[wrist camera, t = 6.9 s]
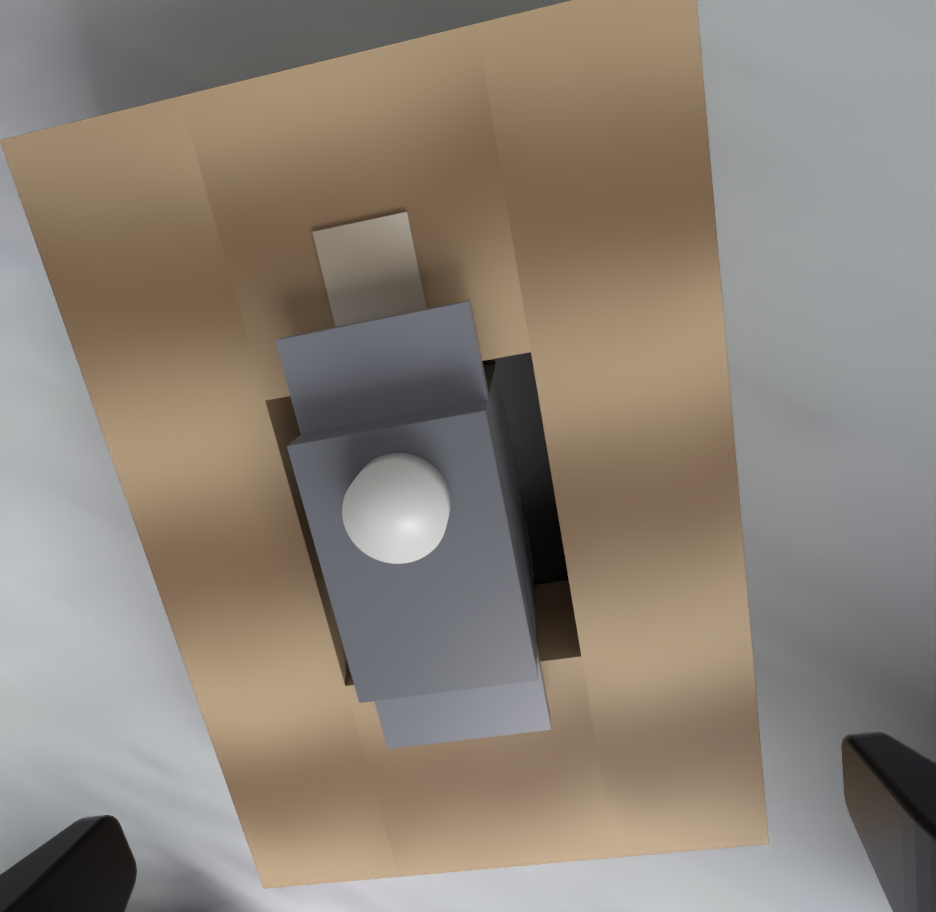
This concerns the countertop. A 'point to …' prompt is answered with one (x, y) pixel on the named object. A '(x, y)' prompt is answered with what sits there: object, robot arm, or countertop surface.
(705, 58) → the countertop surface
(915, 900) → the robot arm
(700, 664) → the chassis board
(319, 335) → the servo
